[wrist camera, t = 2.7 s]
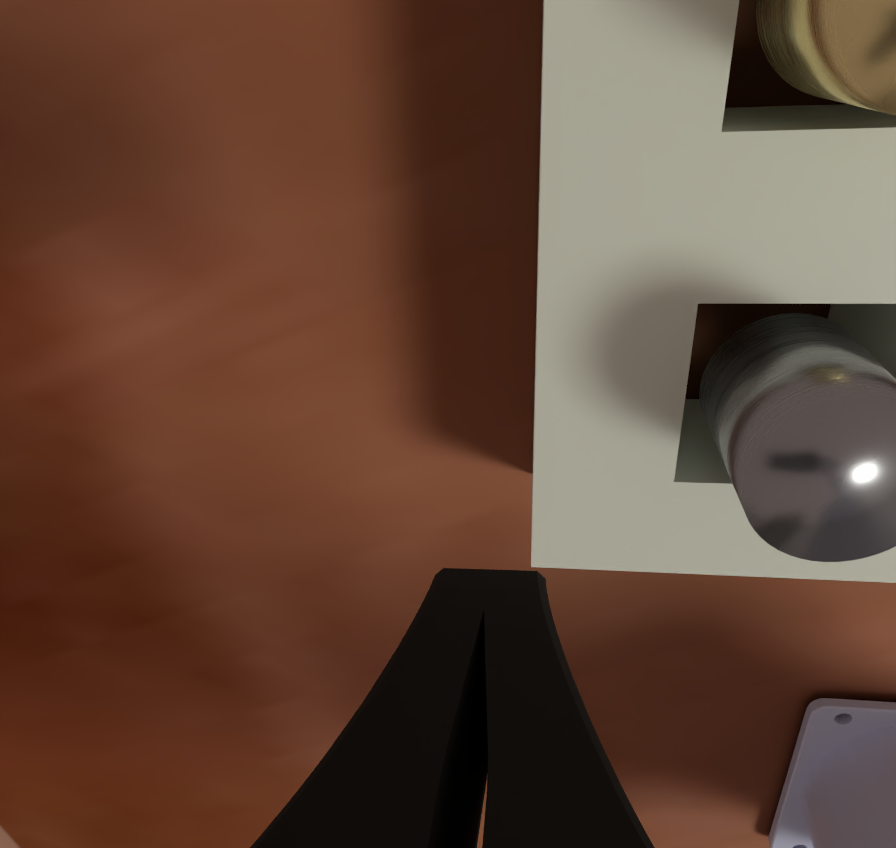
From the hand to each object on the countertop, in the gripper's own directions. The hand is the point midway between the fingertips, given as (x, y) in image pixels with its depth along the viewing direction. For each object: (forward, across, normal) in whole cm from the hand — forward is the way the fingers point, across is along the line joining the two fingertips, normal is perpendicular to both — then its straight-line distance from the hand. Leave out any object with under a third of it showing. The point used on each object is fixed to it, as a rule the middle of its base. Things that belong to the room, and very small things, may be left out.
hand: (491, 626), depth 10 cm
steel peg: (+7, -6, 0) cm, 9 cm away
